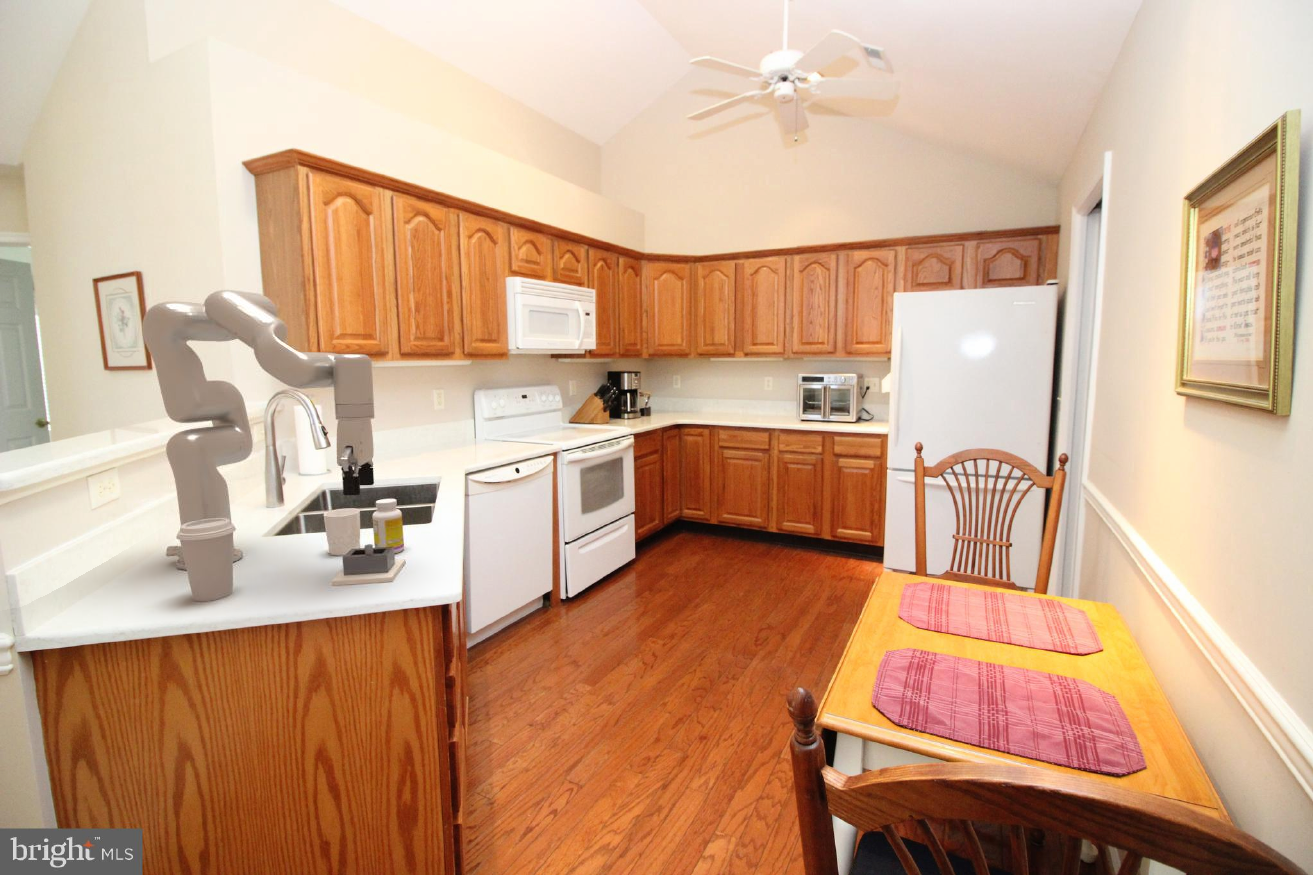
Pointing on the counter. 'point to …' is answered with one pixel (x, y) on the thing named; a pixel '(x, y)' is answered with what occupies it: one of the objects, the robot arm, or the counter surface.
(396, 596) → the counter surface
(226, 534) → the coffee cup
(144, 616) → the counter surface
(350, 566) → the link
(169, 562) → the counter surface
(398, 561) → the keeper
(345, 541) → the white cup
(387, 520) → the supplement bottle
